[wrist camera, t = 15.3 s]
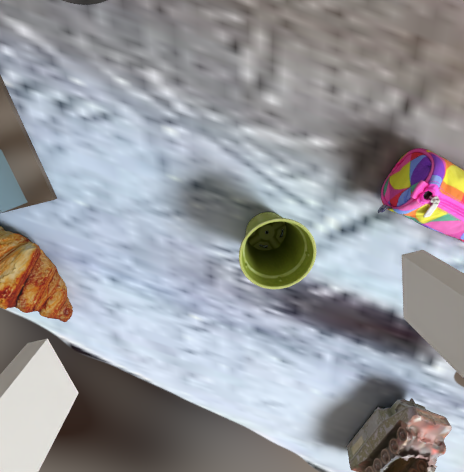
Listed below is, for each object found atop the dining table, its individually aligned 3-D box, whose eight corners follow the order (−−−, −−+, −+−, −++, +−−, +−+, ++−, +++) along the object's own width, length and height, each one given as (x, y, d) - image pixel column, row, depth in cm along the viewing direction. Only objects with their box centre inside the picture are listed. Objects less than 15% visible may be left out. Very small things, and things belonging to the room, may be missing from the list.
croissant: (-37, 212, 43) (-100, 245, 37) (-25, 179, 37) (-99, 212, 31) (75, 306, 49) (36, 347, 43) (101, 291, 43) (59, 337, 37)
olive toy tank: (320, 438, 60) (339, 494, 51) (382, 370, 54) (416, 418, 45) (370, 456, 63) (396, 512, 54) (433, 393, 57) (474, 443, 48)
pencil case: (360, 203, 43) (396, 222, 35) (395, 141, 40) (443, 145, 32) (474, 253, 47) (530, 281, 39) (513, 200, 44) (584, 217, 36)
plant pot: (291, 262, 46) (307, 292, 37) (230, 257, 45) (234, 286, 37) (303, 204, 42) (324, 222, 34) (238, 197, 42) (244, 215, 33)
